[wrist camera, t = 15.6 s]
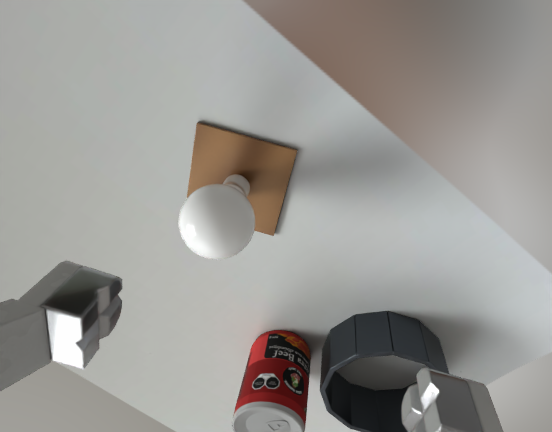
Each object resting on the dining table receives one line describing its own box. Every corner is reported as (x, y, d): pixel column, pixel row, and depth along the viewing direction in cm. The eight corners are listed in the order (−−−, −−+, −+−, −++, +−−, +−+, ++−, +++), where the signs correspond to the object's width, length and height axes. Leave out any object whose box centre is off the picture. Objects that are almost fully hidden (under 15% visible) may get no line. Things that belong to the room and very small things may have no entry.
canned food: (323, 350, 49) (319, 434, 39) (284, 378, 52) (271, 460, 43) (278, 317, 47) (262, 396, 38) (240, 348, 51) (217, 427, 41)
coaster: (297, 149, 37) (297, 151, 36) (274, 234, 42) (273, 236, 41) (197, 121, 37) (196, 122, 36) (186, 209, 42) (185, 211, 41)
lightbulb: (231, 141, 37) (194, 188, 27) (281, 182, 38) (263, 241, 28) (196, 185, 40) (152, 242, 30) (244, 222, 41) (216, 287, 31)
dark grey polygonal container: (462, 332, 44) (478, 375, 39) (412, 404, 51) (420, 449, 46) (344, 298, 44) (344, 337, 39) (310, 374, 51) (307, 416, 46)
